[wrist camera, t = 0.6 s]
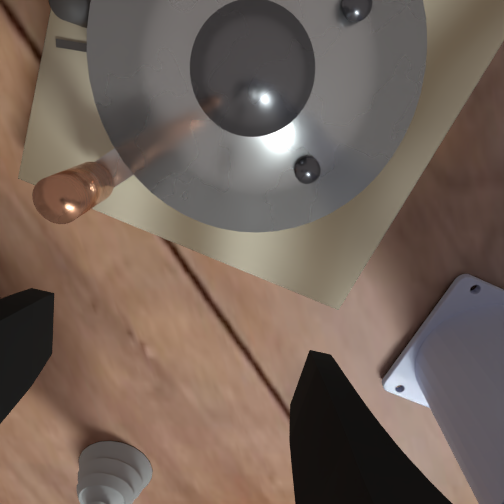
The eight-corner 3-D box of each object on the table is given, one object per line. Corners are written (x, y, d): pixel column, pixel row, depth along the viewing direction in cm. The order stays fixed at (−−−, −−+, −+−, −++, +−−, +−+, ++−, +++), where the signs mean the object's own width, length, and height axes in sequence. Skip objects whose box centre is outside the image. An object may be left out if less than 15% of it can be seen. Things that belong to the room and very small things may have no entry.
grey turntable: (322, -232, 11) (348, -385, 8) (464, 130, 15) (528, 143, 11) (-12, 52, 15) (-106, 39, 11) (171, 292, 18) (147, 342, 15)
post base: (536, -44, 15) (598, -76, 12) (333, 295, 20) (343, 327, 18) (131, -276, 13) (93, -379, 10) (36, 172, 18) (-5, 185, 16)
